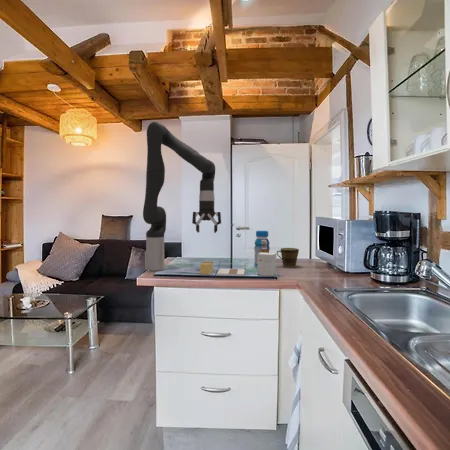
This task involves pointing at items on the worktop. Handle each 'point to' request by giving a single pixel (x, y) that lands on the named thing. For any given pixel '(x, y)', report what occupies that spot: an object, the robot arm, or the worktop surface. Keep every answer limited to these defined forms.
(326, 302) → the worktop surface
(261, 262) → the small box
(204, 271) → the block
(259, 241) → the teal labeled canister
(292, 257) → the ceramic cup
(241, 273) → the floor panel
